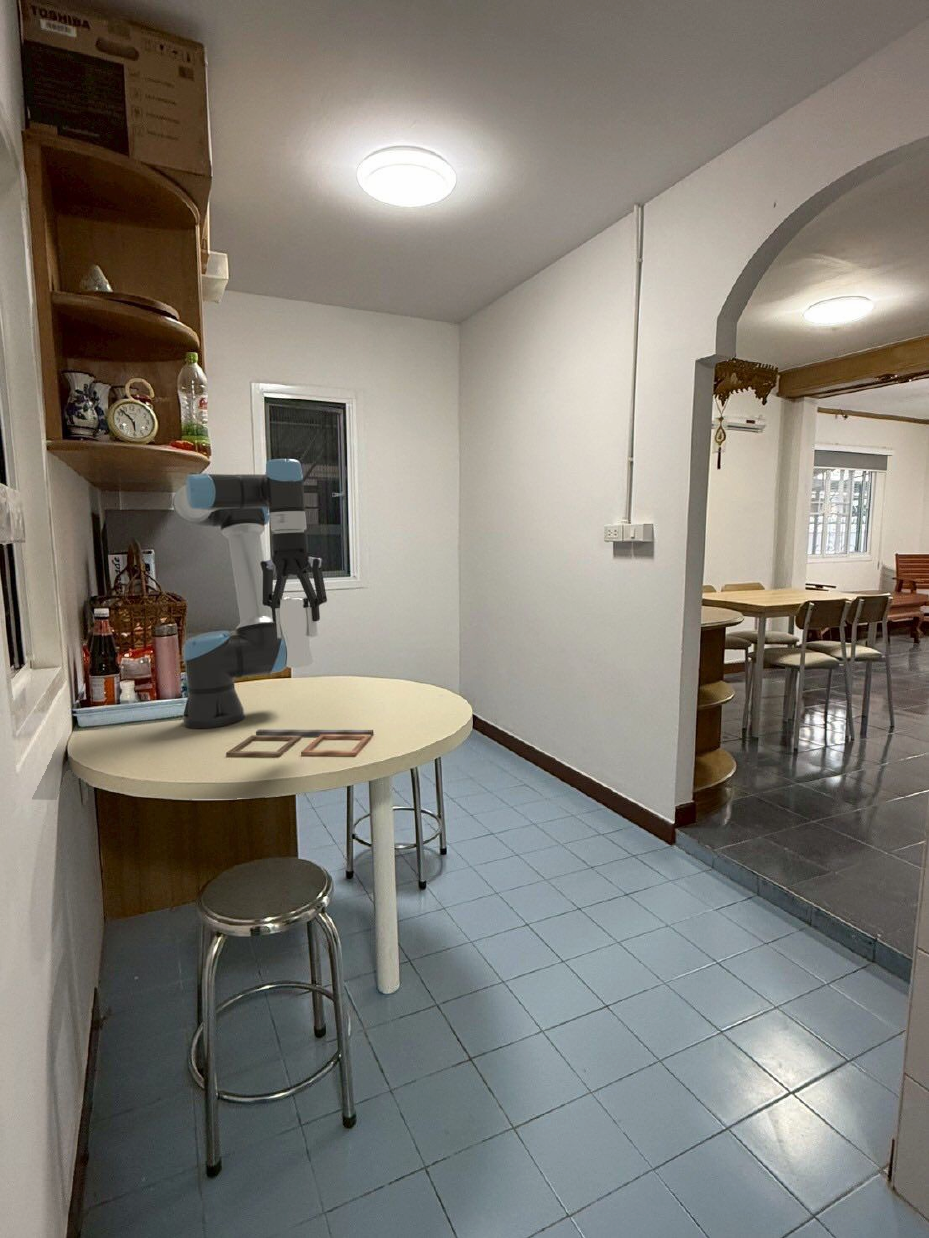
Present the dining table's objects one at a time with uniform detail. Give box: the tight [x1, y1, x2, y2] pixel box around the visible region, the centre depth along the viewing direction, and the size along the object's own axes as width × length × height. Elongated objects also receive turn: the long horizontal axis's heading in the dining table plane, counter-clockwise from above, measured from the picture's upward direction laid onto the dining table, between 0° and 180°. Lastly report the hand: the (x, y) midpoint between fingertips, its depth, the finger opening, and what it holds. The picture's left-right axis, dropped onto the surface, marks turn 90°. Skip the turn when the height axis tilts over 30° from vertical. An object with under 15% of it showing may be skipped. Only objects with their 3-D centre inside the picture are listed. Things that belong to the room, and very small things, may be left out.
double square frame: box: [225, 729, 374, 758], centre depth 151 cm, size 29×16×1 cm, turn 82°
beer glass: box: [279, 596, 314, 669], centre depth 145 cm, size 7×7×15 cm
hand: (297, 636), depth 146 cm, fingers closed on beer glass, 7 cm apart
